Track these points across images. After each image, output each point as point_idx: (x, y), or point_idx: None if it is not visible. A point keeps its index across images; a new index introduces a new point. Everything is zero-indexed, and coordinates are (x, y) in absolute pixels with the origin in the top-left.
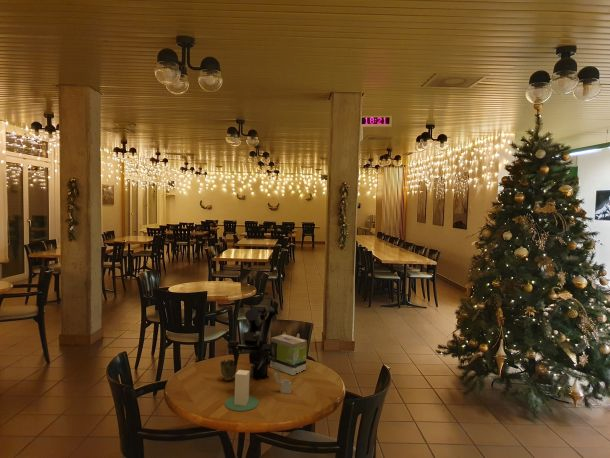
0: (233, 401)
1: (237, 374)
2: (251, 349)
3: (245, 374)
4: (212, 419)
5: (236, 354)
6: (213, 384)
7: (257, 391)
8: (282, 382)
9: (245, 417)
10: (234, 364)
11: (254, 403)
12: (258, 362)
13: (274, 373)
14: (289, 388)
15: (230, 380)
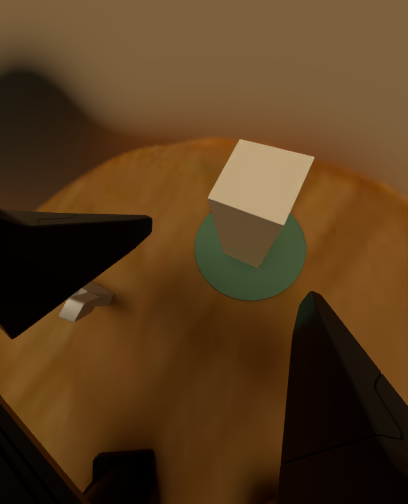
0: (274, 257)
1: (298, 155)
2: (15, 429)
3: (244, 146)
4: (344, 167)
5: (371, 413)
6: None
7: (178, 325)
8: (82, 292)
9: None
10: (328, 305)
11: (209, 231)
12: (114, 220)
13: (75, 318)
14: None
15: (270, 496)
